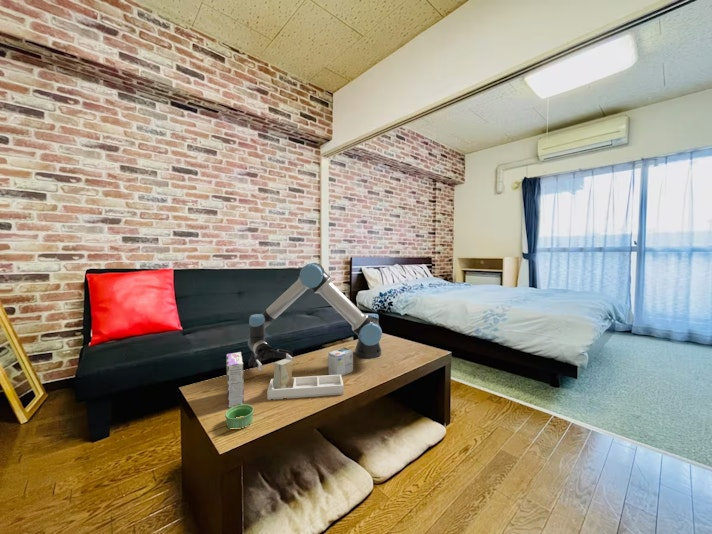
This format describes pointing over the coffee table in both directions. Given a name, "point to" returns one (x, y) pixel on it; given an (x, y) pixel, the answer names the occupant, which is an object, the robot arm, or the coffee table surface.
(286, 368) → the skincare box
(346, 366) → the light bulb box
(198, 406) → the coffee table surface
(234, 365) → the candy box
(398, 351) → the coffee table surface
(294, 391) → the compartment tray
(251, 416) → the ramekin
